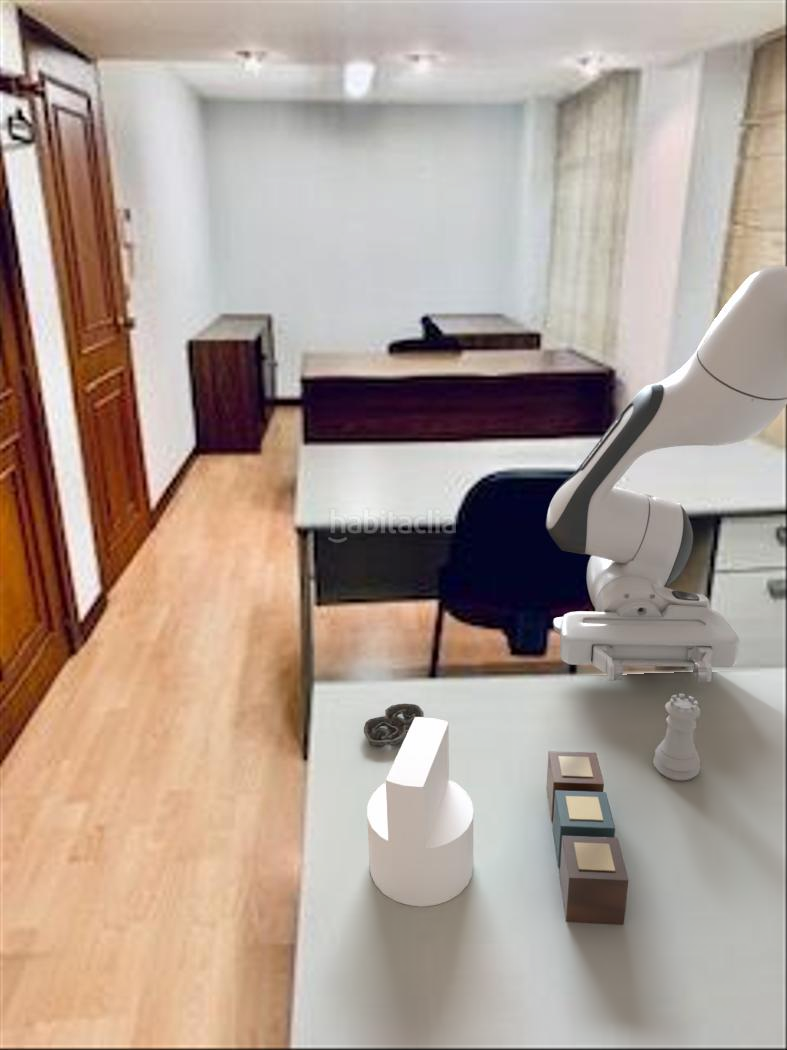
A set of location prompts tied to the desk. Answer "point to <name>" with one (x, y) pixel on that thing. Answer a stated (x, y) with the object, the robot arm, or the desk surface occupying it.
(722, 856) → the desk surface
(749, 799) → the desk surface
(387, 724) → the corroded twin loop
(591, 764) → the block
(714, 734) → the desk surface
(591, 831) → the block middle
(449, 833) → the cylinder with rectangular tab
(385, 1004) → the desk surface
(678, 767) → the rook chess piece
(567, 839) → the block
